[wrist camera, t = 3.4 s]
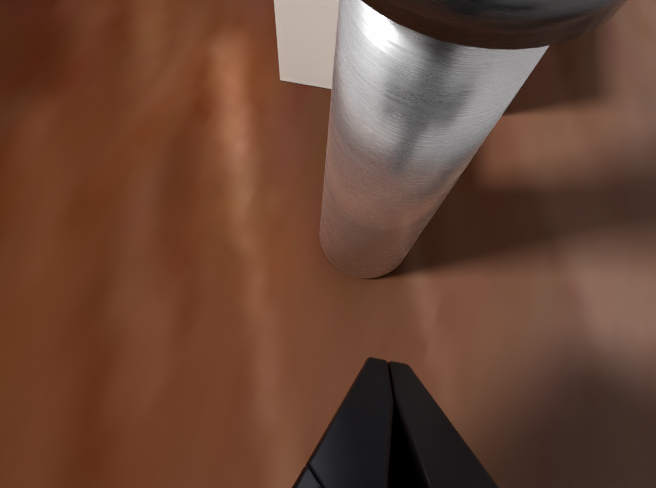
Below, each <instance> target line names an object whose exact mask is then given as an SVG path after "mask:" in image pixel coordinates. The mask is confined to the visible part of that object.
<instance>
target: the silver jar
mask: <svg viewBox="0 0 656 488" xmlns="http://www.w3.org/2000/svg"><path fill="white" fill-rule="evenodd" d="M626 1H627V0H339V9H338V21H337V33H336V45H335V56H334V68H333V80H332V92H331V104H330V116H329V127H328V139H327V151H326V163H325V175H324V187H323V199H322V210H321V222H320V243H321V246H322V249H323V251H324V254H325V255H326V257H327V258H328V260H329V261H330V262H331V263H332V264H333V265H334V266H335V267H336V268H337V269H339V270H340V271H342V272H343V273H345V274H348V275H350V276H353V277H357V278H376V277H380V276H383V275H385V274H388V273H389V272H391V271H393V270H394V269H395V268H396V267H397V266H398V265H399V264H400V263H401V262H402V260H403V259H404V258H405V256H406V255H407V253H408V252H409V250H410V249H411V247H412V246H413V244H414V243H415V242H416V240H417V239H418V237H419V236H420V234H421V233H422V231H423V230H424V228H425V227H426V225H427V224H428V222H429V221H430V220H431V218H432V217H433V215H434V214H435V212H436V211H437V209H438V208H439V206H440V205H441V203H442V202H443V201H444V199H445V198H446V196H447V195H448V193H449V192H450V190H451V189H452V187H453V186H454V184H455V183H456V182H457V180H458V179H459V177H460V176H461V174H462V173H463V171H464V170H465V168H466V167H467V165H468V164H469V163H470V161H471V160H472V158H473V157H474V155H475V154H476V152H477V151H478V149H479V148H480V146H481V145H482V143H483V142H484V141H485V139H486V138H487V136H488V135H489V133H490V132H491V130H492V129H493V127H494V126H495V124H496V123H497V122H498V120H499V119H500V117H501V116H502V114H503V113H504V111H505V110H506V108H507V107H508V105H509V104H510V103H511V101H512V100H513V98H514V97H515V95H516V94H517V92H518V91H519V89H520V88H521V86H522V85H523V84H524V82H525V81H526V79H527V78H528V76H529V75H530V73H531V72H532V70H533V69H534V67H535V66H536V65H537V63H538V62H539V60H540V59H541V57H542V56H543V54H544V53H545V51H546V50H547V48H548V47H549V45H554V44H558V43H562V42H565V41H568V40H571V39H574V38H576V37H579V36H582V35H584V34H585V33H587V32H589V31H591V30H593V29H595V28H597V27H599V26H600V25H601V24H603V23H604V22H606V21H607V20H608V19H610V18H611V17H612V16H613V15H614V14H615V13H616V12H617V11H618V10H619V9H620V8H621V7H622V6H623V5H624V4H625V2H626Z"/></svg>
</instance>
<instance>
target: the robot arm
mask: <svg viewBox="0 0 656 488" xmlns="http://www.w3.org/2000/svg"><path fill="white" fill-rule="evenodd" d="M292 488H499V487H498V486H497V484H496V483H495V482H494V480H493V479H492V478H491V476H490V475H489V474H488V472H487V471H486V469H485V468H484V467H483V465H482V464H481V463H480V461H479V460H478V459H477V457H476V456H475V455H474V453H473V452H472V450H471V449H470V448H469V446H468V445H467V444H466V442H465V441H464V440H463V438H462V437H461V435H460V434H459V433H458V431H457V430H456V429H455V427H454V426H453V425H452V423H451V422H450V421H449V419H448V418H447V416H446V415H445V414H444V412H443V411H442V410H441V408H440V407H439V406H438V404H437V403H436V401H435V400H434V399H433V397H432V396H431V395H430V393H429V392H428V391H427V389H426V388H425V387H424V385H423V384H422V382H421V381H420V380H419V378H418V377H417V376H416V374H415V373H414V372H413V370H412V369H411V367H410V366H409V365H407V364H404V363H399V362H393V361H390V362H387V361H386V360H383V359H377V358H372V357H369V358H368V359H367V360H366V362H365V363H364V365H363V367H362V369H361V370H360V372H359V374H358V375H357V377H356V379H355V381H354V382H353V384H352V386H351V388H350V389H349V391H348V393H347V394H346V396H345V398H344V400H343V401H342V403H341V405H340V406H339V408H338V410H337V412H336V413H335V415H334V417H333V419H332V420H331V422H330V424H329V425H328V427H327V429H326V431H325V432H324V434H323V436H322V437H321V439H320V441H319V443H318V444H317V446H316V448H315V450H314V451H313V453H312V455H311V456H310V458H309V460H308V462H307V463H306V466H305V467H304V468H303V470H302V471H301V473H300V475H299V477H298V478H297V480H296V482H295V483H294V485H293V486H292Z"/></svg>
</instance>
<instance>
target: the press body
mask: <svg viewBox="0 0 656 488" xmlns="http://www.w3.org/2000/svg"><path fill="white" fill-rule="evenodd" d="M274 6H275V19H276V32H277V45H278V58H279V71H280V80H282V81H288V82H294V83H300V84H305V85H311V86H317V87H323V88H328V89H332V80H333V68H334V56H335V45H336V33H337V21H338V9H339V0H274Z"/></svg>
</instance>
